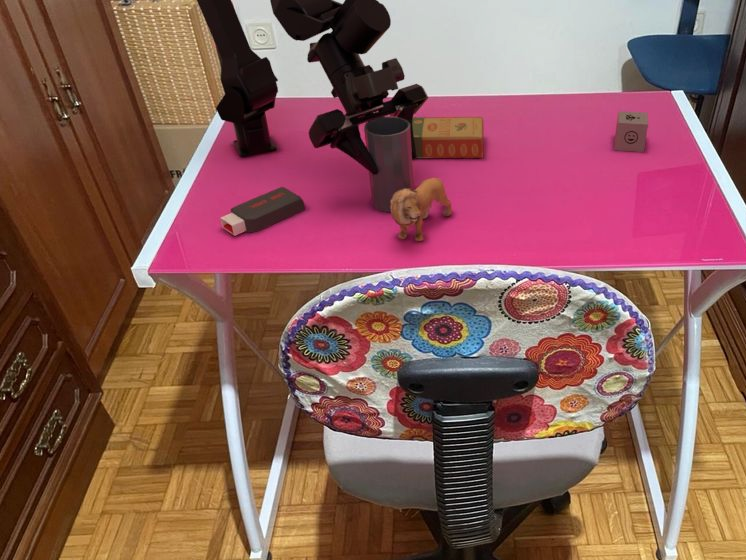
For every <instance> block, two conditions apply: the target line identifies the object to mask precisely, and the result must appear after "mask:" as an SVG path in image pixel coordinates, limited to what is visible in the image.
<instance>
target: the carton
mask: <svg viewBox="0 0 746 560" xmlns="http://www.w3.org/2000/svg"><path fill="white" fill-rule="evenodd" d="M412 123H413V135H414V141H415V148H416V155H417V158H416V159H463V158H464V159H466V158H467V159H469V158H470V159H476V158H477V159H478V158H483V157H484V117H483V116H433V117H432V116H420V117H419V116H418V117H417V116H416V117H414V116H413V120H412Z"/></svg>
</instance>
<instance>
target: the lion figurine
mask: <svg viewBox="0 0 746 560" xmlns="http://www.w3.org/2000/svg"><path fill="white" fill-rule="evenodd" d="M433 201H436V202H437V203H439V204H440V205H441V206H444V207H445V210H444V211H443V215H444V216H446V217H450V216H452V202H451V199H449V198H448V196H447V194H446V188H445V184H444V183H443V181H442V180H441V179H440V178H438V177H433V178H426V179H424V180H423V181H422V182H421V183H420V185H419V186H418V187H416V188H415V190H414V191H413V190H412V189H410V188H409V189H405V188H403V189H400V190H398V191H397V192H395V193H394V195H393V197H392V199H391V206H390V208H391V212H390V213H391V217H392V219H393V220H394V222H395V223H396V224H397V225H398V226H399V229H400V232H399V233H398V235H397V237H398V239H400V240H405V239H406V238H407V235H408V228H410V227H412V226H414V225H415V230H414V236H415V237H414V241H416V242H423V241H424V233H423V222H424V221H423V220H424V219H427V218H428V216H429V213H430V211H431V208H432V202H433Z"/></svg>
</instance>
